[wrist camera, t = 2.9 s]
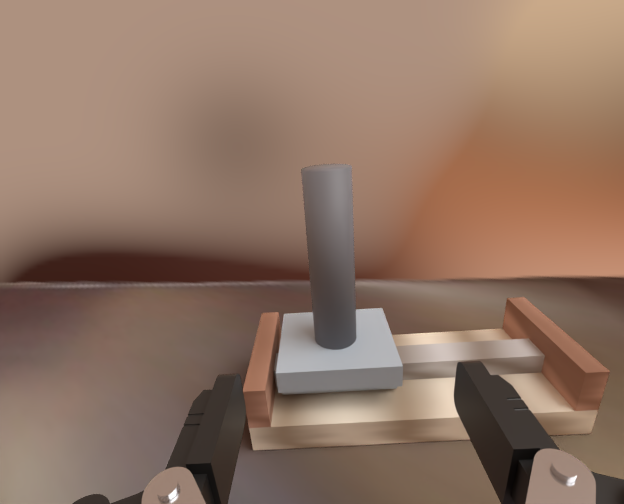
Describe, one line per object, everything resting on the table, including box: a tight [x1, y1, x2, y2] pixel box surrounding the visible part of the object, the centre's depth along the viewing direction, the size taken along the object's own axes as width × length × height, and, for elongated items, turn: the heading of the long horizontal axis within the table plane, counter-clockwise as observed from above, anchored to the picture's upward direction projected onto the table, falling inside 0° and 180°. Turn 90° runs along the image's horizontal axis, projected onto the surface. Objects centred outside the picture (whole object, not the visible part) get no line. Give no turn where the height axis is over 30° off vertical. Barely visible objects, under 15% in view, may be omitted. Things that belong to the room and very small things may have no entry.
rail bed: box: [243, 297, 610, 450], centre depth 26 cm, size 22×9×5 cm, turn 90°
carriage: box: [276, 164, 403, 395], centre depth 23 cm, size 8×7×15 cm
